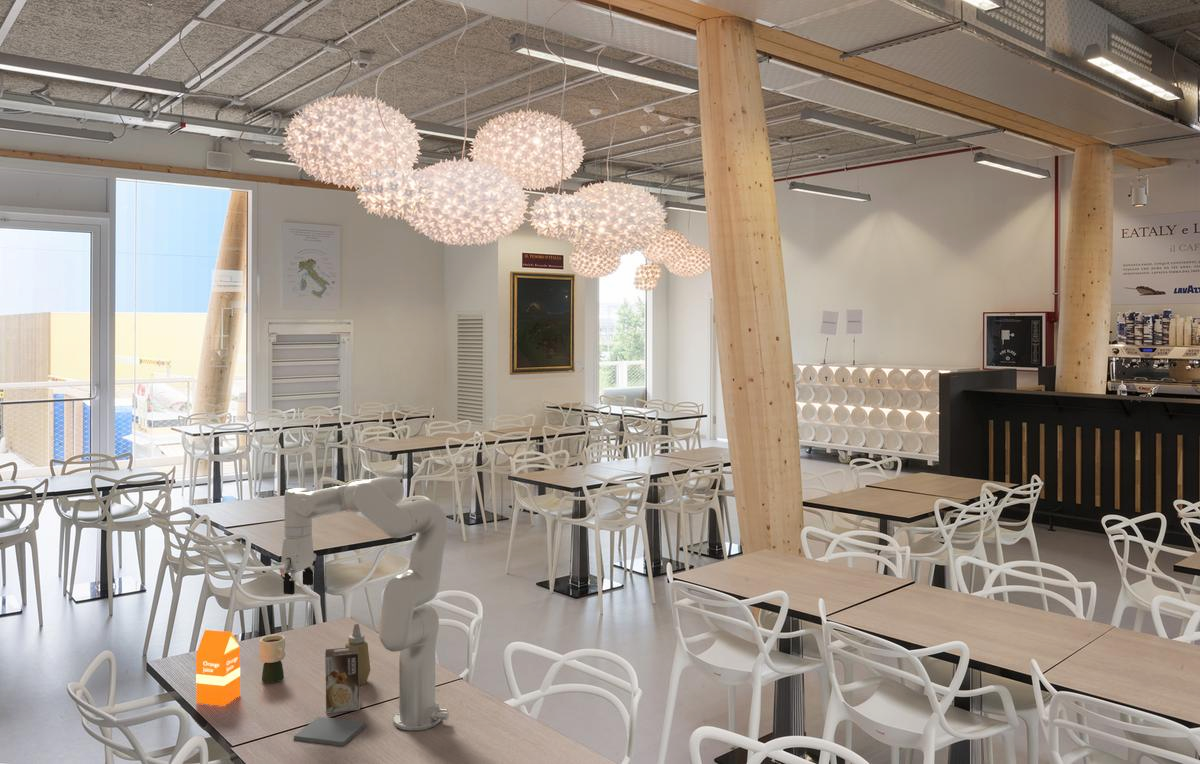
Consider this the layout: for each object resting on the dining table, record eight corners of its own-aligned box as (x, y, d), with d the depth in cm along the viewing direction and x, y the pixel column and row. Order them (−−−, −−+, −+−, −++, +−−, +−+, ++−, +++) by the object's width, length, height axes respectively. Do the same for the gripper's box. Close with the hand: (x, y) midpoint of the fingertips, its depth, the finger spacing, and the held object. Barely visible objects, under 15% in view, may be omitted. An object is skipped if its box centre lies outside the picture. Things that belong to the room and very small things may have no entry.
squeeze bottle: (353, 690, 257) (353, 630, 256) (337, 683, 261) (336, 624, 261) (376, 682, 263) (376, 623, 262) (359, 675, 268) (359, 617, 267)
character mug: (293, 681, 262) (293, 639, 262) (272, 689, 257) (272, 645, 256) (273, 673, 269) (273, 631, 269) (252, 680, 264) (251, 637, 263)
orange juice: (224, 706, 244) (223, 636, 243) (196, 704, 246) (195, 634, 245) (240, 695, 252) (240, 627, 251) (213, 693, 254) (212, 625, 253)
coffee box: (359, 701, 249) (359, 646, 248) (359, 710, 243) (359, 653, 242) (325, 704, 246) (325, 648, 246) (325, 714, 240) (324, 656, 240)
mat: (366, 725, 233) (366, 722, 233) (343, 745, 221) (343, 742, 221) (319, 720, 236) (318, 716, 236) (293, 739, 225) (293, 735, 225)
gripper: (303, 524, 263) (303, 580, 263) (269, 536, 246) (269, 596, 246) (325, 525, 261) (326, 582, 262) (292, 538, 244) (293, 598, 245)
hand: (298, 589), depth 254 cm, fingers open, 9 cm apart
